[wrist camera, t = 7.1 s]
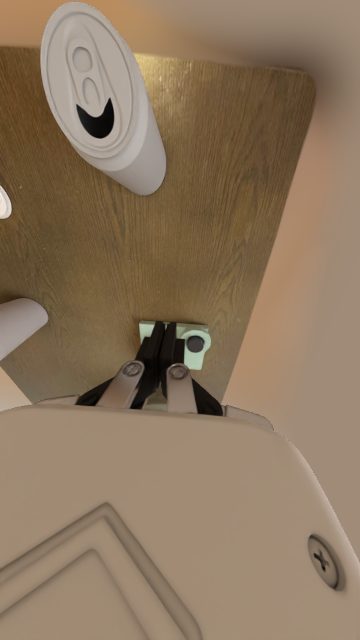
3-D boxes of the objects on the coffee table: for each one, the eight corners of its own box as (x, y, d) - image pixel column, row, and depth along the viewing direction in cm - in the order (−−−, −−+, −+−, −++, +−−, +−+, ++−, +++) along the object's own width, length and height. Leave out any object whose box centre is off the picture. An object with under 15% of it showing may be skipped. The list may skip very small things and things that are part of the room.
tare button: (204, 336, 30) (204, 341, 28) (201, 348, 31) (202, 353, 30) (187, 334, 30) (187, 339, 28) (186, 347, 31) (186, 352, 30)
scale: (211, 323, 31) (213, 331, 29) (202, 365, 38) (203, 375, 35) (140, 317, 31) (136, 325, 29) (144, 361, 38) (141, 370, 35)
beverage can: (125, 199, 21) (65, 171, 11) (109, 130, 18) (4, -1, 8) (170, 193, 21) (151, 159, 10) (163, 121, 17) (126, -34, 7)
